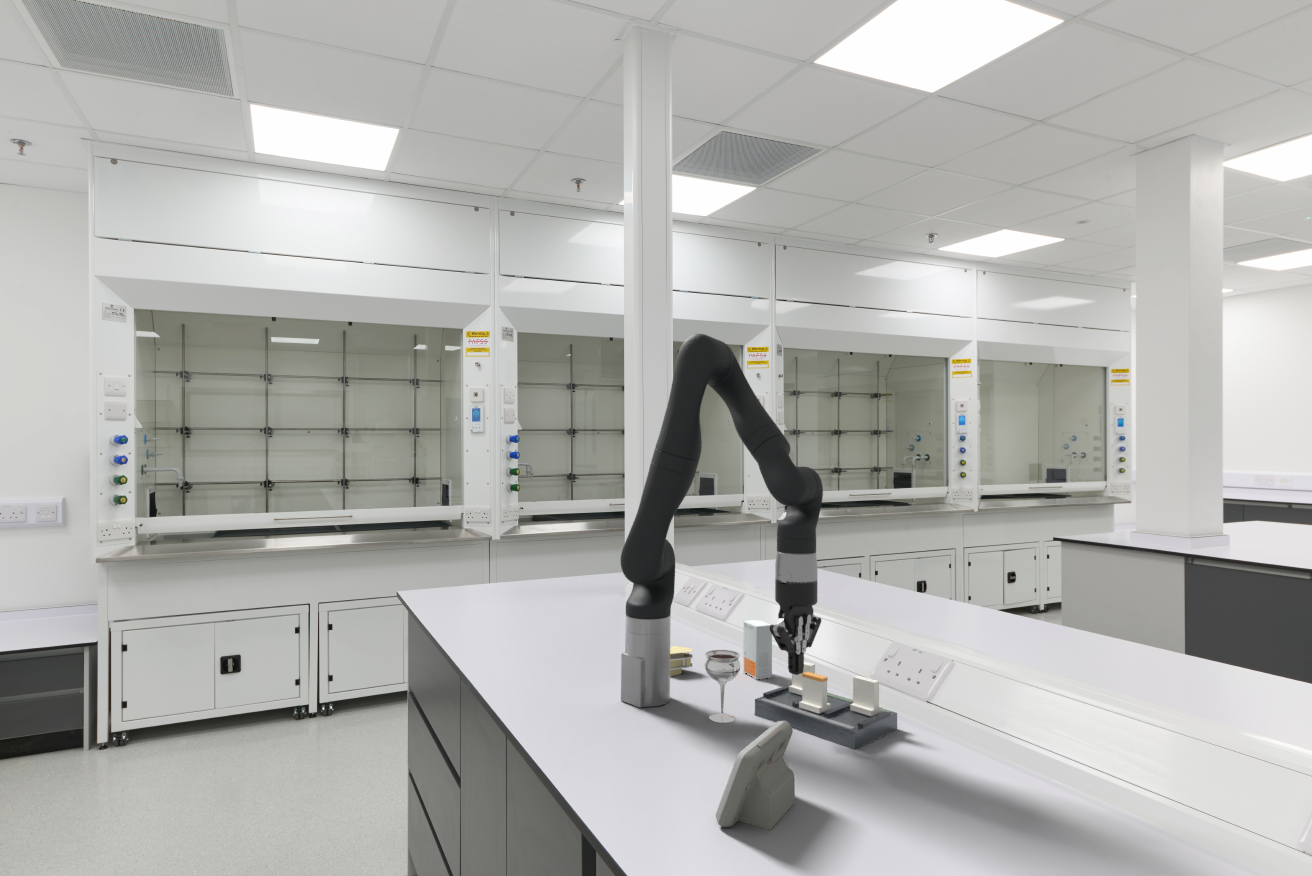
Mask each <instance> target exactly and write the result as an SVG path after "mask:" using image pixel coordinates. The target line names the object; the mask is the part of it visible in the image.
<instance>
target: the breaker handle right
mask: <svg viewBox="0 0 1312 876" xmlns="http://www.w3.org/2000/svg"><path fill="white" fill-rule="evenodd" d="M852 700H853V704H850V710H852V711H855V712H858V713H862V714H865V715H868V716H874V715H876V714H878V713H881V712H882V709H883V706H881V705H880V681H879V680H875V679H873V678H869V677H865V676H860V675H855V676H852Z"/></svg>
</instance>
